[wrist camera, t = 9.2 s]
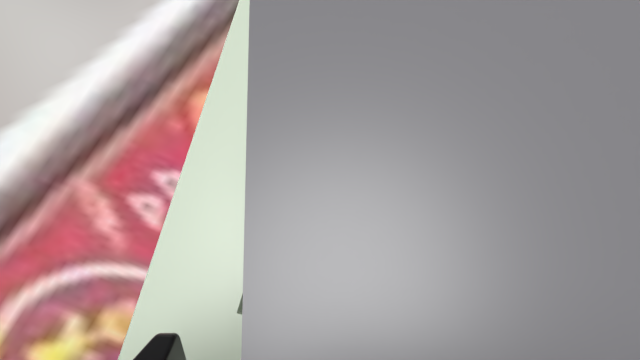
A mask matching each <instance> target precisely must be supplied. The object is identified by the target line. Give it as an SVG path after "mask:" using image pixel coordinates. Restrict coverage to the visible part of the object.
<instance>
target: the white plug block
mask: <svg viewBox="0 0 640 360" xmlns="http://www.w3.org/2000/svg"><path fill="white" fill-rule="evenodd" d="M241 360H640V0H250V5H249V48H248V91H247V134H246V177H245V219H244V262H243V305H242V348H241Z"/></svg>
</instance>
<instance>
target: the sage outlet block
mask: <svg viewBox="0 0 640 360" xmlns="http://www.w3.org/2000/svg"><path fill="white" fill-rule="evenodd" d="M249 5H250V0H239V3H238V6H237V9H236V12H235V15H234V18H233V21H232V24H231V27H230V30H229V33H228V36H227V39H226V42H225V45H224V48H223V51H222V53H221V56H220V59H219V62H218V65H217V68H216V71H215V74H214V77H213V80H212V83H211V86H210V89H209V92H208V95H207V98H206V101H205V104H204V107H203V110H202V113H201V116H200V119H199V122H198V124H197V127H196V130H195V133H194V136H193V139H192V142H191V145H190V148H189V151H188V154H187V157H186V160H185V163H184V166H183V169H182V172H181V175H180V178H179V181H178V184H177V187H176V190H175V193H174V195H173V198H172V201H171V204H170V207H169V210H168V213H167V216H166V219H165V222H164V225H163V228H162V231H161V234H160V237H159V240H158V243H157V246H156V249H155V252H154V255H153V258H152V261H151V263H150V266H149V269H148V272H147V275H146V278H145V281H144V284H143V287H142V290H141V293H140V296H139V299H138V302H137V305H136V308H135V311H134V314H133V317H132V320H131V323H130V326H129V329H128V332H127V334H126V337H125V340H124V343H123V346H122V349H121V352H120V355H119V358H118V360H133V359H134V358H135V357H136V356H137V355H138V353H139V352H140V351H141V350H142V349H143V348H144V347H145V346H146V345H147V343H148V342H149V341H150V340H151V339H152V338H153V337H154V336H155V335H157V334H158V333H177V334H178V335H179V336H180V339H181V342H182V346H183V349H184V353H185V356H186V360H241V348H242V305H243V262H244V219H245V177H246V134H247V91H248V48H249Z"/></svg>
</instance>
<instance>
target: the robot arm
mask: <svg viewBox="0 0 640 360" xmlns="http://www.w3.org/2000/svg"><path fill="white" fill-rule="evenodd" d="M133 360H186V356H185V353H184V349H183V346H182V342H181V339H180V336H179V335H178V334H177V333H158V334H157V335H155V336H154V337H153V338H152V339H151V340H150V341H149V342H148V343H147V345H146V346H145V347H144V348H143V349H142V350H141V351H140V352H139V353H138V355H137V356H136V357H135V358H134V359H133Z"/></svg>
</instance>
